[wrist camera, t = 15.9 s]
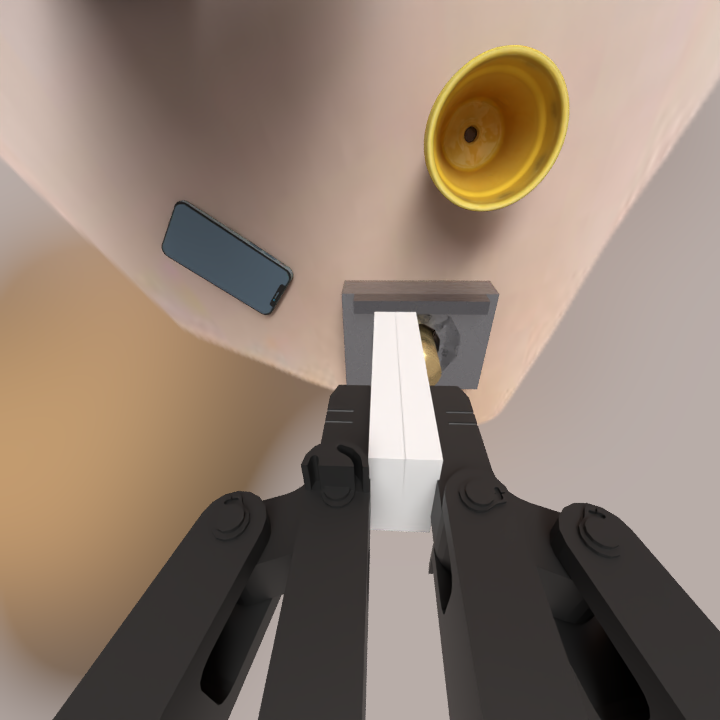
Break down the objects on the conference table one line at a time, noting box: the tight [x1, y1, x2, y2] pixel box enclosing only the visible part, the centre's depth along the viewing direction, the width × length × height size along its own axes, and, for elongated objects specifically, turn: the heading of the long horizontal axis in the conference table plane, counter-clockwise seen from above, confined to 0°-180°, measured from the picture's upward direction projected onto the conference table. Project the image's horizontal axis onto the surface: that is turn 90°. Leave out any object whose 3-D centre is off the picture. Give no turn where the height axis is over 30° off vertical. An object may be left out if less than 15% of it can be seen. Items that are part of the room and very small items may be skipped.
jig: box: [342, 281, 499, 389], centre depth 43 cm, size 18×14×6 cm
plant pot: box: [424, 45, 569, 211], centre depth 29 cm, size 10×10×10 cm
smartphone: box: [162, 201, 293, 315], centre depth 42 cm, size 8×2×15 cm
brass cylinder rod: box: [418, 324, 442, 386], centre depth 42 cm, size 5×5×10 cm
